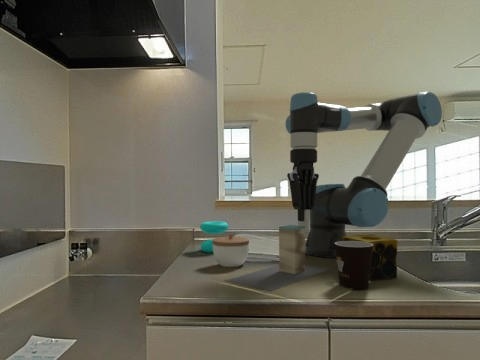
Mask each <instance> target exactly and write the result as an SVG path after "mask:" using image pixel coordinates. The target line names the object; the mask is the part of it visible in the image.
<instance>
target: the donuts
mask: <svg viewBox="0 0 480 360" xmlns="http://www.w3.org/2000/svg"><path fill="white" fill-rule="evenodd" d="M199 227H200V230H201V231H202V232H203V233H205V234H210V235H211V234H216V235H217V234H222V233H225V232H226V231H227V230H229V224H228V223H227V222H226V221H220V220H219V221H217V220H216V221H214V220H212V221H204V222H201V224H200V226H199ZM212 240H213V239H207V240H204V241H202V242H201V244H200V246H199V249H200V250H201V251H202V252H204V253H213V243H212Z"/></svg>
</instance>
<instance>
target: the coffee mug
mask: <svg viewBox="0 0 480 360" xmlns="http://www.w3.org/2000/svg"><path fill="white" fill-rule="evenodd" d="M335 250H336V257H335V258H336V265H337V272H338V282H339V283H338V284H339V286H340V287H342V288H346V289H350V290H351V291H354V292H355V291H357V292H358V291H367V290H368V289H369V286H370V285H369V284H370V280H369V278H370V269H371V260H372V252H373V244H371V243H368V242H360V241H340V242H335Z"/></svg>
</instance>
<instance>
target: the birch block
mask: <svg viewBox="0 0 480 360" xmlns="http://www.w3.org/2000/svg"><path fill="white" fill-rule="evenodd" d="M278 236H279V237H278V242H279V243H278V255H279V256H278V265H279V271H281V272H287V273H292V274H297V273H300V272H302V271H305V264H306V253H305V244H306V233H305V226H298V224H297V225H295V224H294V225H293V224H286V225H281V226H278Z"/></svg>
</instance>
